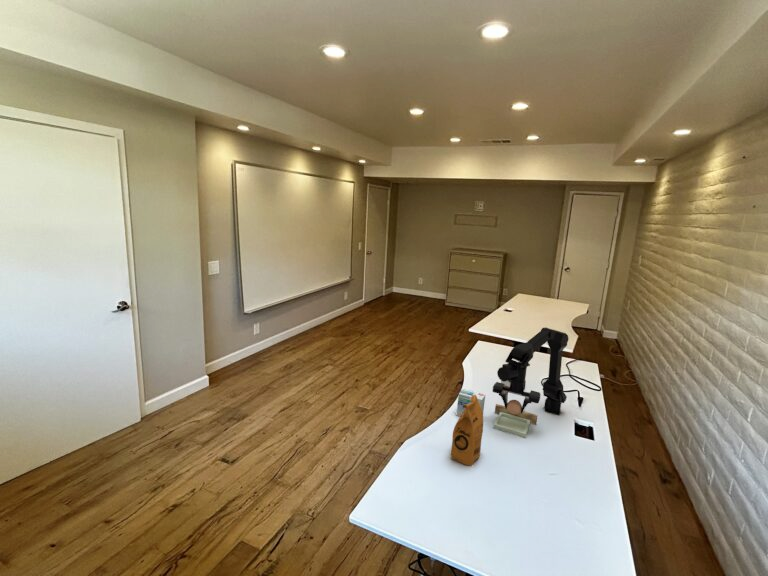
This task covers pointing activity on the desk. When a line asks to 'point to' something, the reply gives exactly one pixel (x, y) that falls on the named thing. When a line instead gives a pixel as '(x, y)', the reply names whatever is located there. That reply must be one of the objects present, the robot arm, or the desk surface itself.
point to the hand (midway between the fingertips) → (513, 410)
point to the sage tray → (512, 424)
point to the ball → (514, 406)
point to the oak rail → (523, 415)
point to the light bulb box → (468, 400)
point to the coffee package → (468, 434)
